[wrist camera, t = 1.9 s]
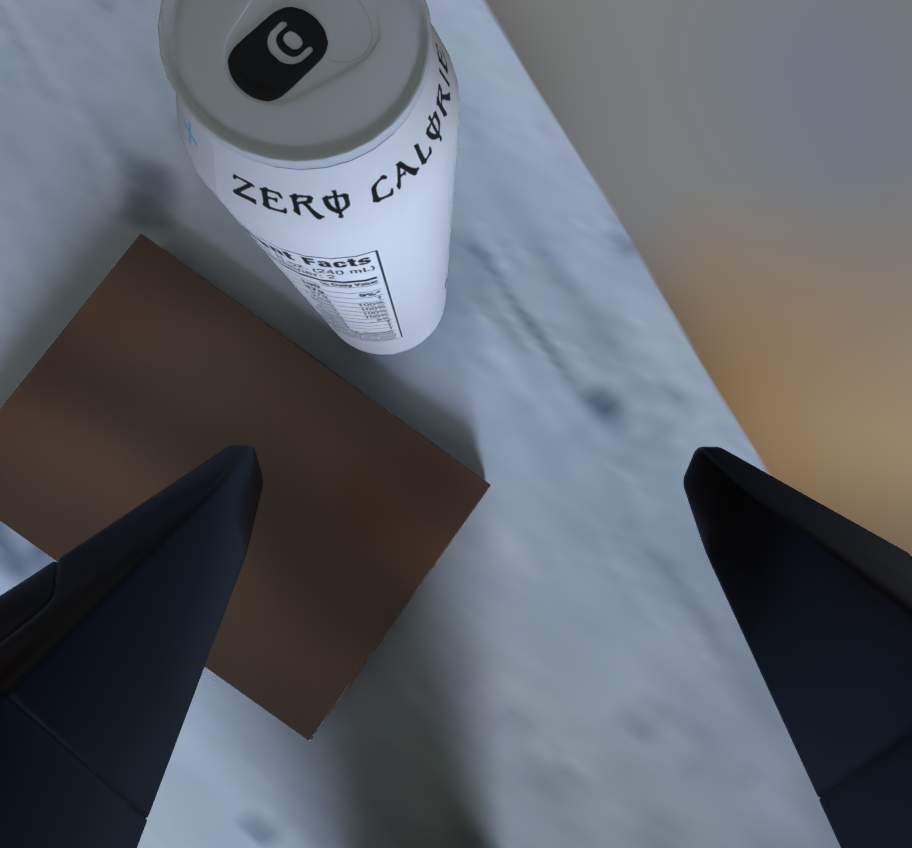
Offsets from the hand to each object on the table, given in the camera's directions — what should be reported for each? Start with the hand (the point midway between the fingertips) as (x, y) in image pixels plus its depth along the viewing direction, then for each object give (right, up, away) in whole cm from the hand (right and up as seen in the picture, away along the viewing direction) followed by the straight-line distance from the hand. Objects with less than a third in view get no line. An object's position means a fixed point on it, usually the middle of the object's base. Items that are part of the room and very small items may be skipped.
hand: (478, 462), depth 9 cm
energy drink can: (-4, +7, +14) cm, 16 cm away
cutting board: (-11, -2, +13) cm, 17 cm away
